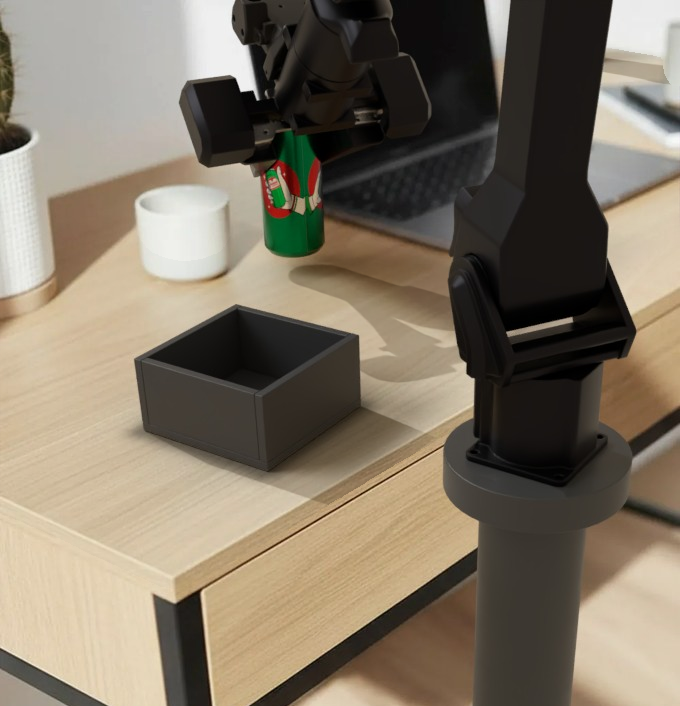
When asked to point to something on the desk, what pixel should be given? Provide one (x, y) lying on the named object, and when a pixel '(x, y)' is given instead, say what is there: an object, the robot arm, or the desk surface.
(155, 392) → the open square box
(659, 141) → the desk surface
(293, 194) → the soda can
